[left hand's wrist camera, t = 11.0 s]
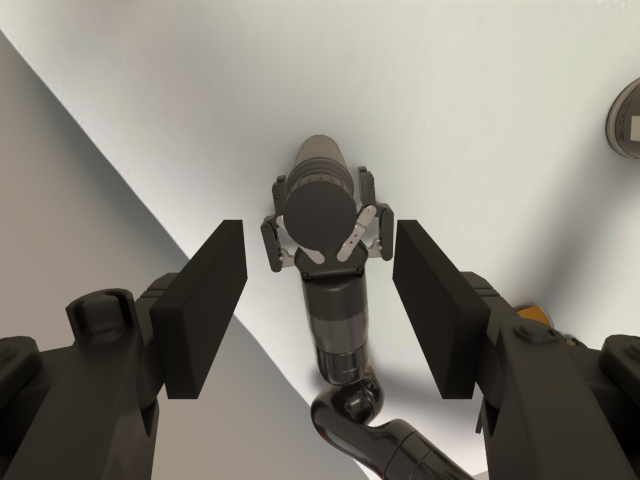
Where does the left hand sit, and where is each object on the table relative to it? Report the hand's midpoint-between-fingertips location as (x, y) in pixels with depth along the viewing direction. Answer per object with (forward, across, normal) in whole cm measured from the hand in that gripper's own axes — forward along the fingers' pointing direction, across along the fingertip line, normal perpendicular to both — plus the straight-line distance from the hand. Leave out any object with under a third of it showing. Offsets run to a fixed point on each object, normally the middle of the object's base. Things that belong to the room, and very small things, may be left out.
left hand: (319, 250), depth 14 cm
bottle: (+29, 0, 0) cm, 29 cm away
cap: (+5, 0, 0) cm, 5 cm away
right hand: (+22, 0, +1) cm, 22 cm away
